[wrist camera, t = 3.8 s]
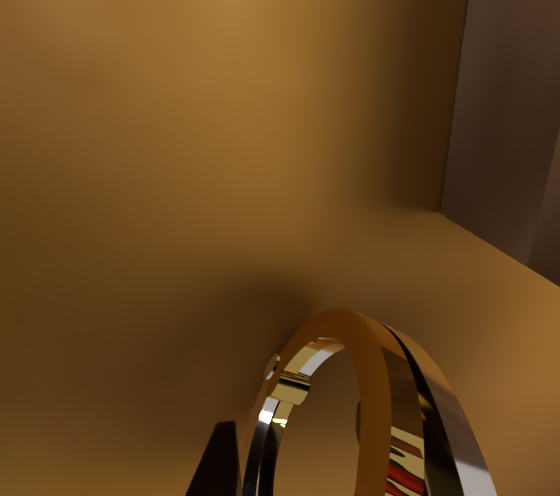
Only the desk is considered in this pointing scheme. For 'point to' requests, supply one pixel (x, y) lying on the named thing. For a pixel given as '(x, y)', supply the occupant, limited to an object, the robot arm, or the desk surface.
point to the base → (508, 132)
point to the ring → (371, 412)
